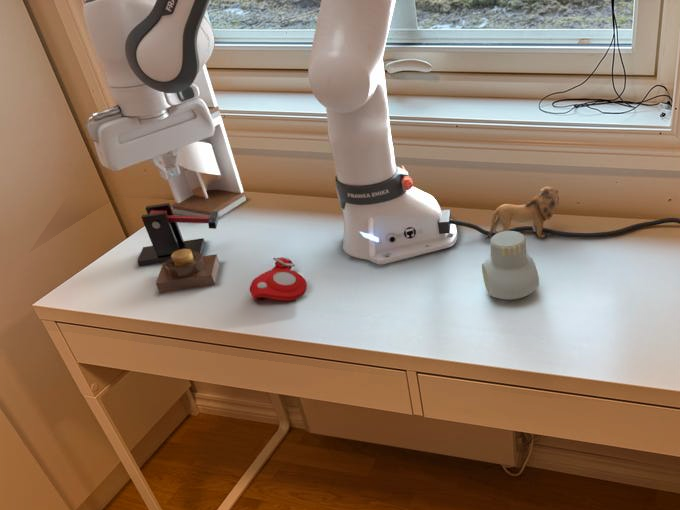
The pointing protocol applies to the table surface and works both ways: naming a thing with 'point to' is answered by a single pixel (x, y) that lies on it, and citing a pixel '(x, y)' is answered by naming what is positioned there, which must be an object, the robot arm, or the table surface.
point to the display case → (206, 166)
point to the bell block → (188, 273)
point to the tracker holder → (279, 282)
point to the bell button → (182, 257)
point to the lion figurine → (527, 212)
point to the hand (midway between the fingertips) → (171, 176)
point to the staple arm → (193, 218)
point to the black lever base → (164, 237)
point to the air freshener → (509, 267)
